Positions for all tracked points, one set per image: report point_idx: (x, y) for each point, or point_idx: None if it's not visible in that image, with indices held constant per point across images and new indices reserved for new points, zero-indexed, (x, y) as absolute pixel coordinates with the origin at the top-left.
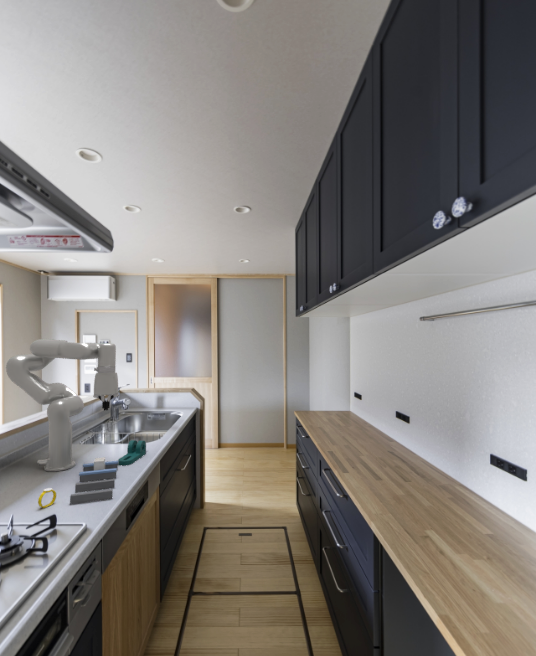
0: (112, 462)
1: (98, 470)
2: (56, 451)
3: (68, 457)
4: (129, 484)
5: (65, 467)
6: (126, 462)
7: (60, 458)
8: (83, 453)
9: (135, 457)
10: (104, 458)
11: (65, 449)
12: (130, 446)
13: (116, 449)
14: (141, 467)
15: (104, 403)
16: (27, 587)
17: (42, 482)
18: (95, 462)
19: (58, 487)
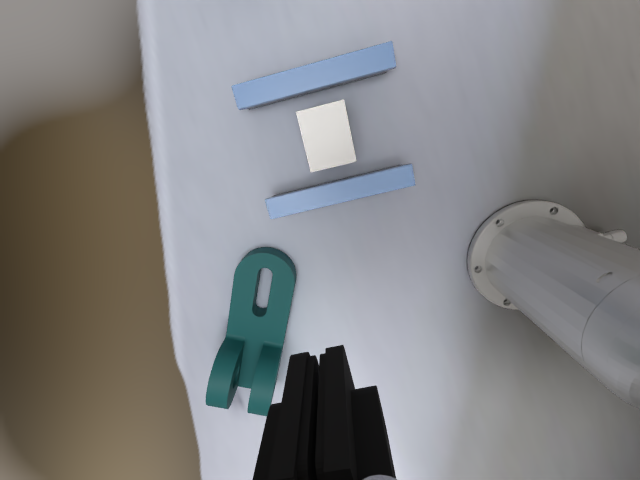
0: (287, 194)
1: (313, 81)
2: (586, 236)
3: (508, 254)
4: (161, 14)
5: (495, 219)
6: (254, 252)
7: (541, 230)
8: (475, 400)
9: (231, 297)
10: (307, 152)
11: (546, 255)
12: (264, 366)
13: None
14: (186, 219)
15: (335, 436)
16: None
17: (543, 76)
18: (336, 101)
19: (455, 5)
